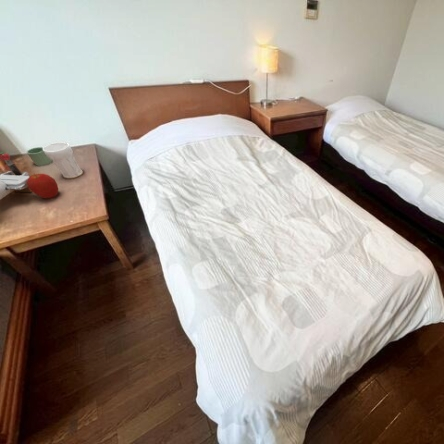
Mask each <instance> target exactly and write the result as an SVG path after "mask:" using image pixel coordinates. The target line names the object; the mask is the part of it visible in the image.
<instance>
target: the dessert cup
mask: <svg viewBox="0 0 444 444" xmlns="http://www.w3.org/2000/svg"><path fill="white" fill-rule="evenodd" d="M26 154H27V155H28V157H29V158H30V160H31V161H32V163H34V165H35V166H37V167H38V166H39V167H41V166H47V165H49V164H52V163H53V161H52V159H49V158H48V157H47V155H46V154H45V153H44V151H43V147H42V146H39V147H33V148H30V149H27V151H26Z"/></svg>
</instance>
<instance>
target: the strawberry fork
mask: <svg viewBox="0 0 444 444" xmlns="http://www.w3.org/2000/svg"><path fill="white" fill-rule="evenodd" d="M0 160H2V161H5V164H6V165H7V167H8V168H9V169H10V171H12V172H13V173H14V175H17V176H20V175H22V174H21V173H22V171H21V170H20V168H18V166H17V165H16V163H14V161H12V160H11V155H9V154H8V153H6V152H5V151H0Z"/></svg>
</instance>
